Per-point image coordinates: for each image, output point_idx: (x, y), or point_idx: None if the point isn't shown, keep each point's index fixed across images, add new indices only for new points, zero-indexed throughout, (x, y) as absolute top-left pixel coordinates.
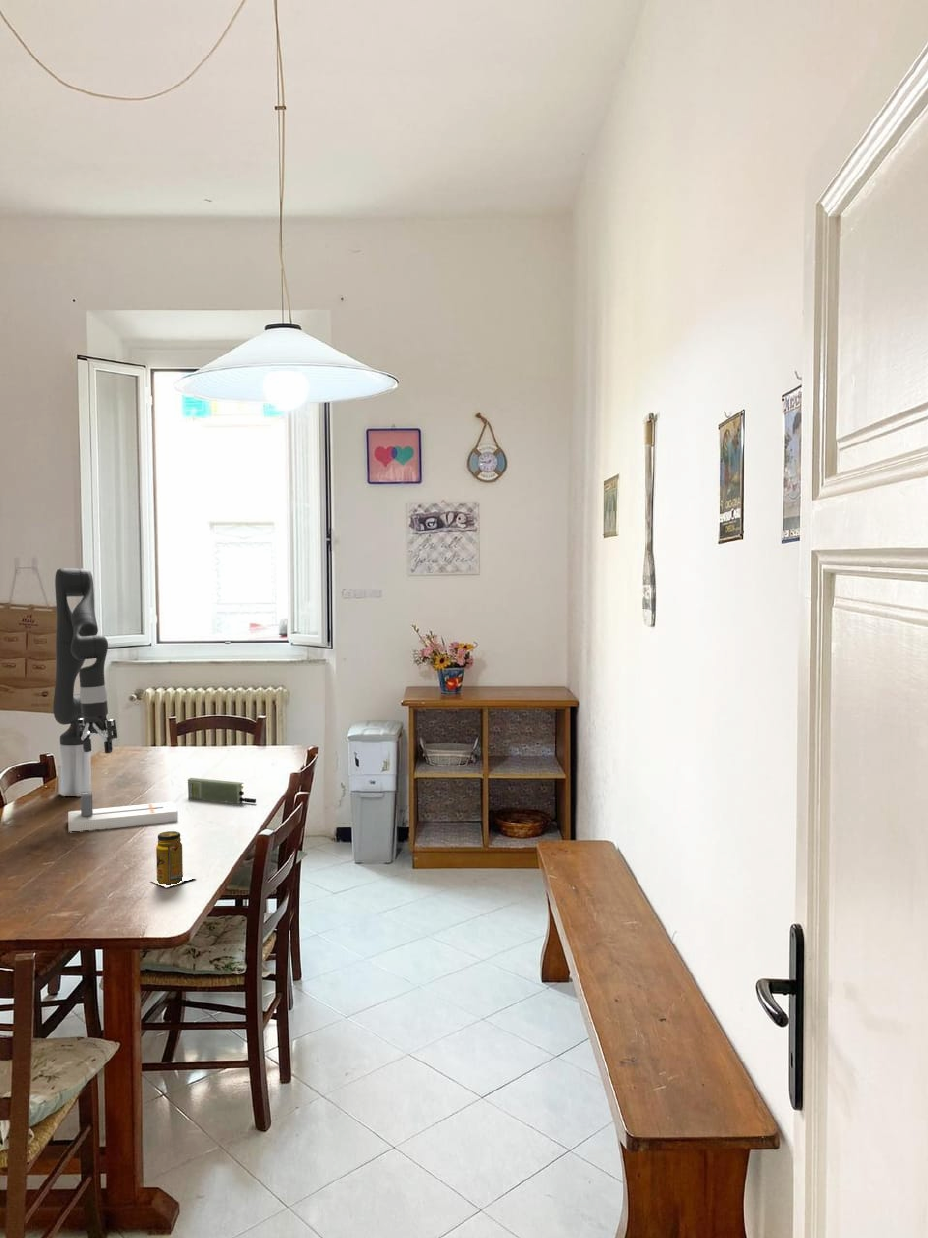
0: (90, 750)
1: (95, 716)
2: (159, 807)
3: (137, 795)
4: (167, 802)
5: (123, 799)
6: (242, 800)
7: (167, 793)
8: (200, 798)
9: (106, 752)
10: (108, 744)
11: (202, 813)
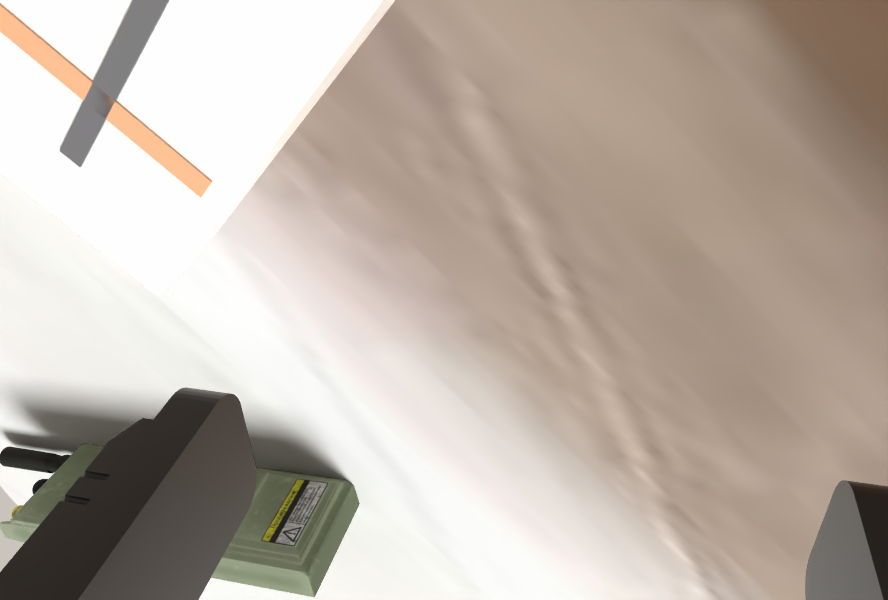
0: (811, 576)
1: None
2: (78, 142)
3: (678, 484)
4: (163, 268)
5: (707, 398)
6: (56, 457)
7: (527, 535)
8: (271, 473)
9: (178, 395)
10: (26, 550)
11: (37, 268)
